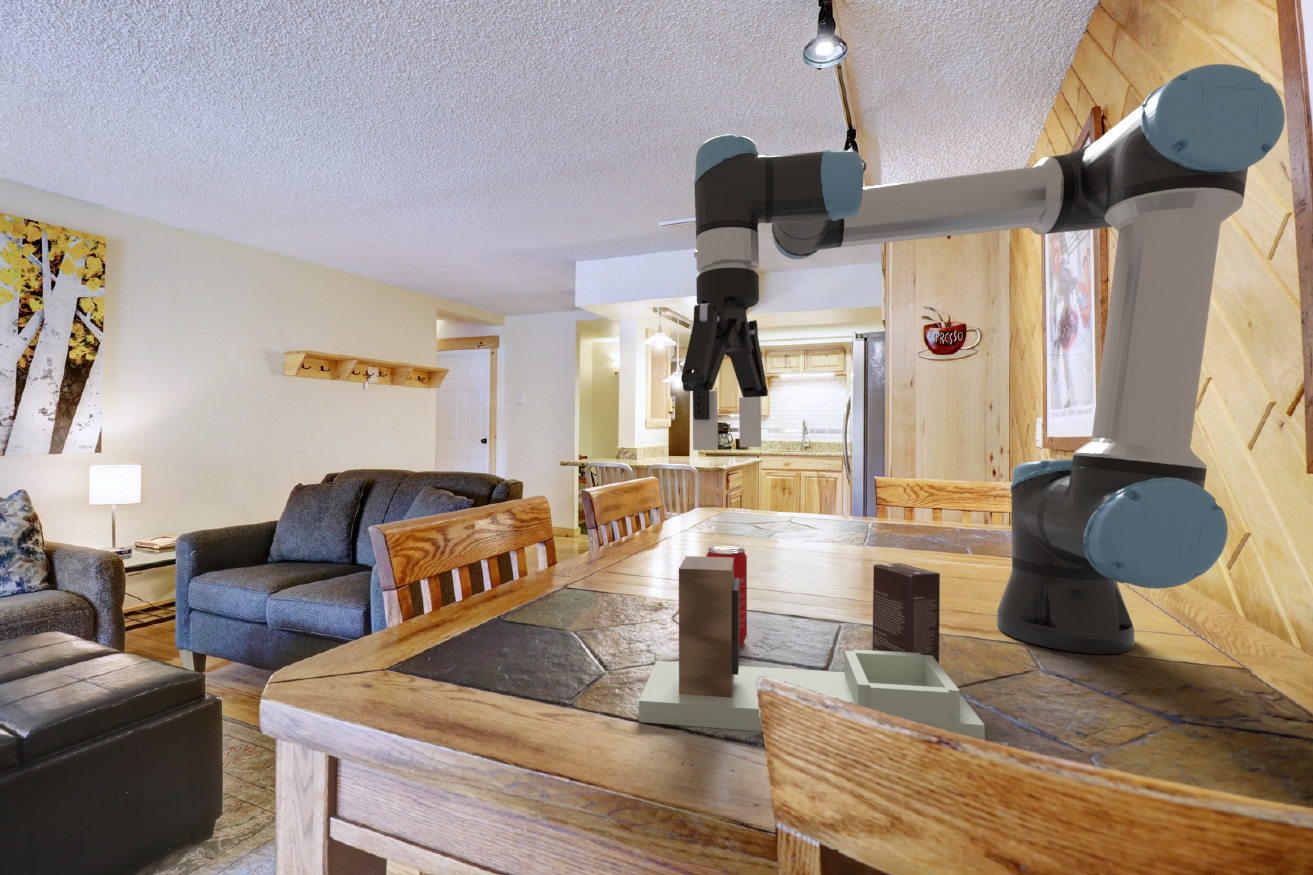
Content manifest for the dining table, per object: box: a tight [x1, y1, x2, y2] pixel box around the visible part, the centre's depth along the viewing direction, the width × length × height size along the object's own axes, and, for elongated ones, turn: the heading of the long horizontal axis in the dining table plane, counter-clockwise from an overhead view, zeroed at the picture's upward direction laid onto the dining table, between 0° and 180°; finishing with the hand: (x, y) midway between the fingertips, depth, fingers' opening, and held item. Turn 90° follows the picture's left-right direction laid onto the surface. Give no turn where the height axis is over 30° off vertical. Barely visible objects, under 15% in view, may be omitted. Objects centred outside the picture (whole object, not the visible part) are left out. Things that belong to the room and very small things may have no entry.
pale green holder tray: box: [638, 649, 986, 741], centre depth 59 cm, size 30×10×4 cm, turn 81°
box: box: [872, 563, 941, 665], centre depth 67 cm, size 6×4×12 cm
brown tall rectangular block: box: [678, 555, 741, 698], centre depth 60 cm, size 6×6×12 cm
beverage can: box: [705, 545, 748, 647], centre depth 78 cm, size 5×5×12 cm
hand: (729, 448), depth 74 cm, fingers open, 13 cm apart
